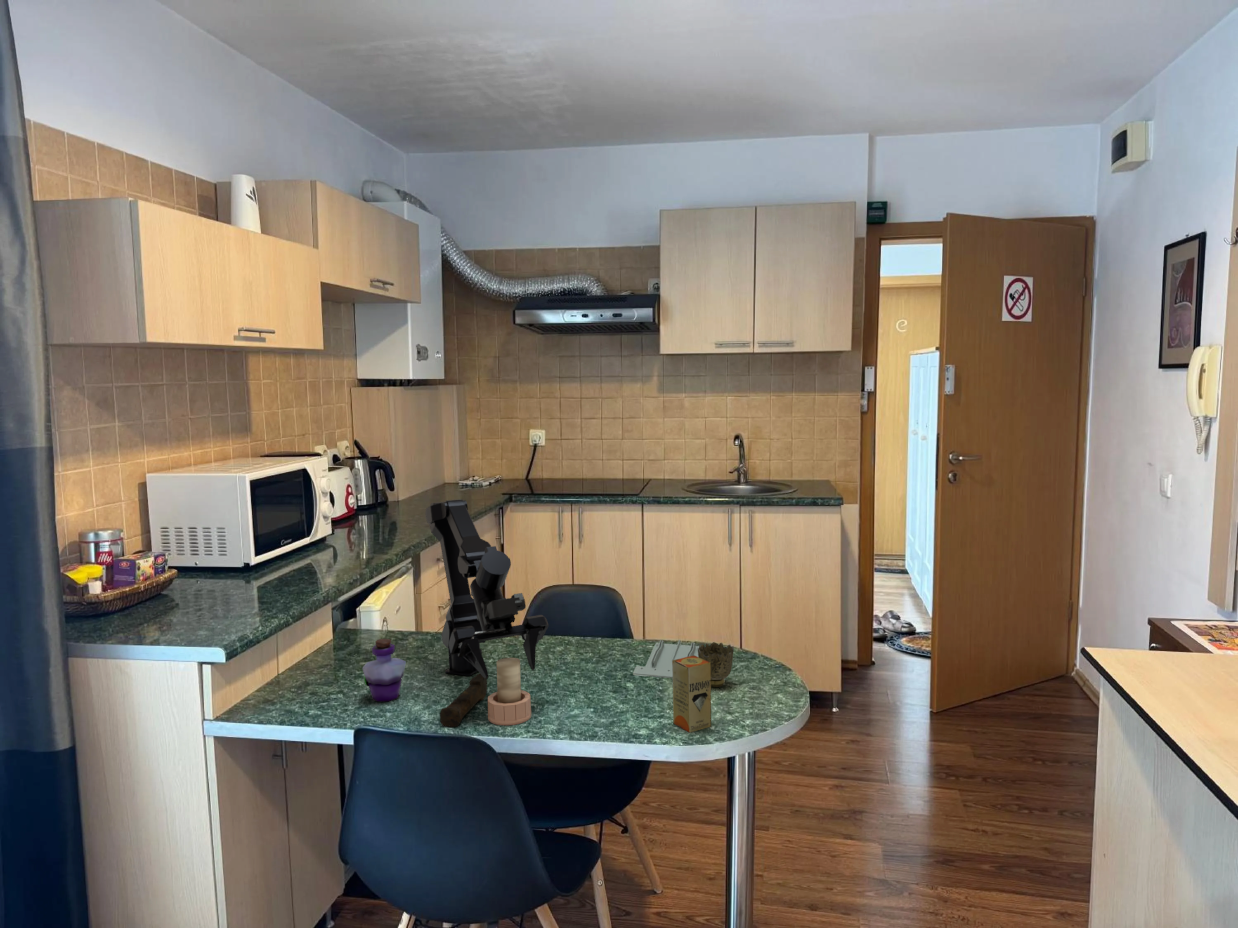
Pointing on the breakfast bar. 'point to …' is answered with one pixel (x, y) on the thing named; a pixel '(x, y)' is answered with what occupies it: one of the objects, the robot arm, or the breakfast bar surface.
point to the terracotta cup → (509, 710)
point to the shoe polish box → (691, 693)
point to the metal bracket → (665, 659)
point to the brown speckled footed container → (717, 661)
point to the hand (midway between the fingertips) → (510, 673)
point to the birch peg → (508, 680)
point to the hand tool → (464, 702)
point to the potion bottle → (384, 672)
